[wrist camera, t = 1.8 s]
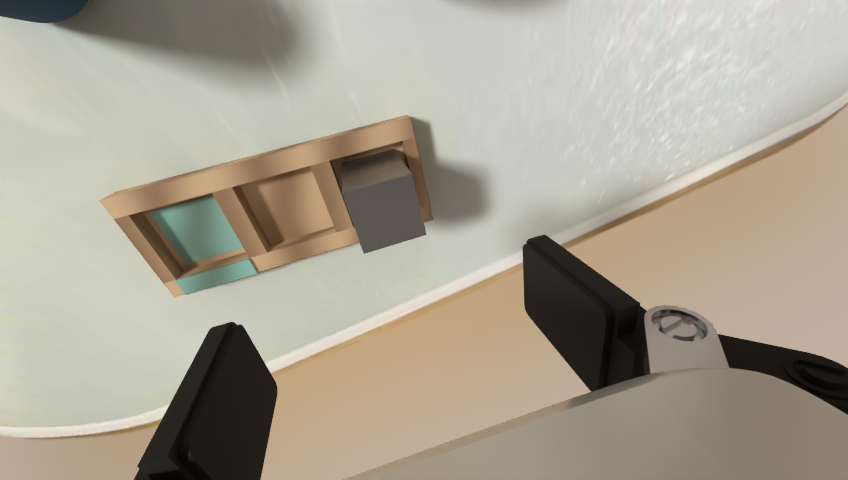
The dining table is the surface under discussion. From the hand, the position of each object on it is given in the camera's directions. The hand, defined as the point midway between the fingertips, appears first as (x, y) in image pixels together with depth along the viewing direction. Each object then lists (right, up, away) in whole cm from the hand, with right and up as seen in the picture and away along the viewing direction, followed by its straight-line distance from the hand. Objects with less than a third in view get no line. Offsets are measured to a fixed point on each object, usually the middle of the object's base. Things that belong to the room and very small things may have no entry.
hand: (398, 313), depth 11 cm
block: (-3, +8, +17) cm, 19 cm away
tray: (-11, +6, +17) cm, 21 cm away
